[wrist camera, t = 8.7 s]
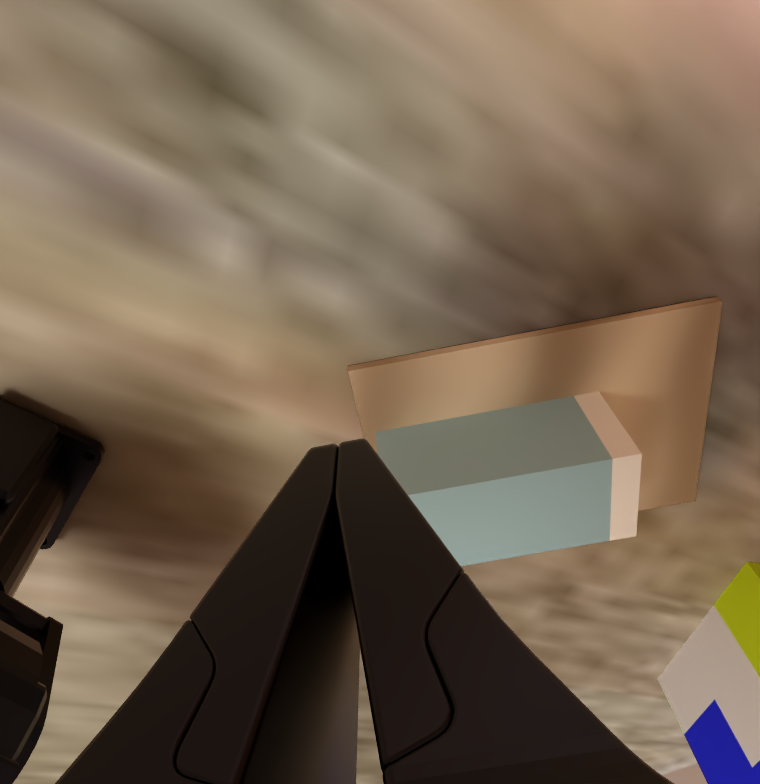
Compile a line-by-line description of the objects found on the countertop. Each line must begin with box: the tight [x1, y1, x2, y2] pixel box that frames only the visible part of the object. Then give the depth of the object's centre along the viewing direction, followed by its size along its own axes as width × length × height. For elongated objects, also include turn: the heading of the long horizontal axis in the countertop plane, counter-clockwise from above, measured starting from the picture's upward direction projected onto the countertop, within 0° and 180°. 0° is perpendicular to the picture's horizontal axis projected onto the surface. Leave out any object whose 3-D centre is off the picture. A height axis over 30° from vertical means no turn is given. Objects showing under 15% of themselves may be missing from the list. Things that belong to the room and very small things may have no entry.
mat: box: [348, 297, 723, 511], centre depth 25 cm, size 14×10×1 cm
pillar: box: [375, 391, 642, 566], centre depth 23 cm, size 4×4×9 cm
